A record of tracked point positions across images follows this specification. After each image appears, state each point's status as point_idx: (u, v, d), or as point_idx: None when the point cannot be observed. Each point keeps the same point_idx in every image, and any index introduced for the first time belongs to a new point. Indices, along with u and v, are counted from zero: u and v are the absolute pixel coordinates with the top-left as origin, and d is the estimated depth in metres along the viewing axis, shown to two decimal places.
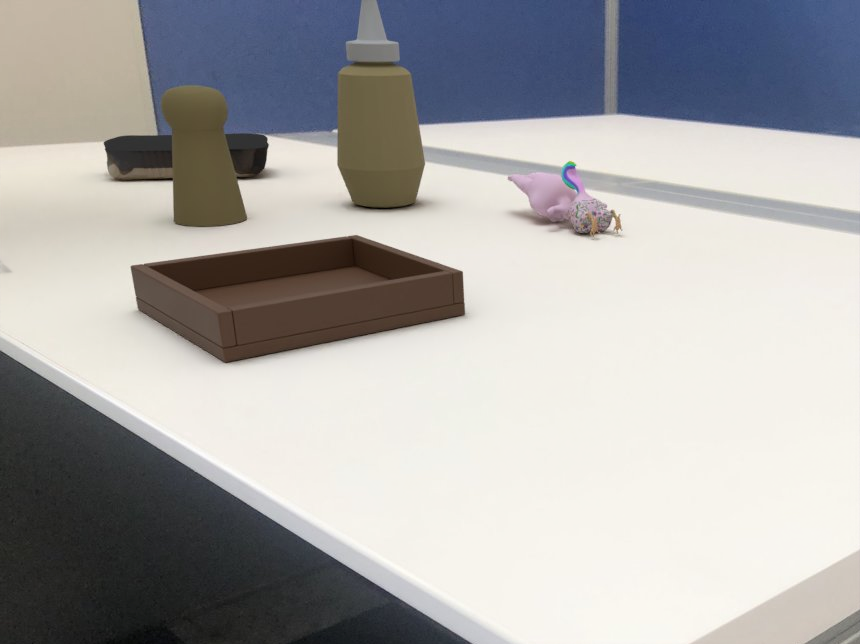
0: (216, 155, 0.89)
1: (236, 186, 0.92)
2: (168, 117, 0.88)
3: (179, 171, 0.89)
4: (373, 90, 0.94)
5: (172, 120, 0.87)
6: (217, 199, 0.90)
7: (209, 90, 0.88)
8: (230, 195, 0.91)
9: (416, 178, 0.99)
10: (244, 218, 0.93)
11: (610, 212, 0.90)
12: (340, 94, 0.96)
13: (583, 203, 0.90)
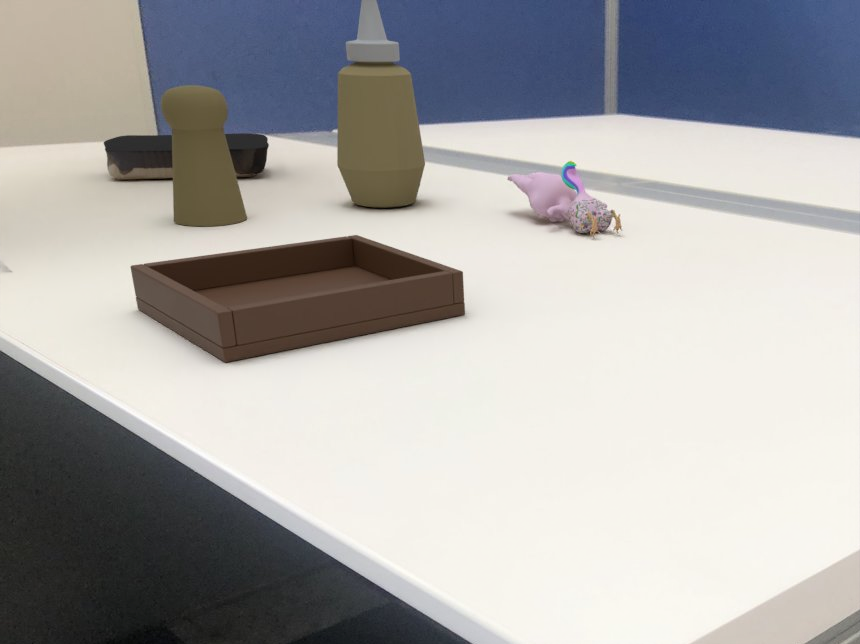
0: (216, 155, 0.89)
1: (236, 186, 0.92)
2: (168, 117, 0.88)
3: (179, 171, 0.89)
4: (373, 90, 0.94)
5: (172, 120, 0.87)
6: (217, 199, 0.90)
7: (209, 90, 0.88)
8: (230, 195, 0.91)
9: (416, 178, 0.99)
10: (244, 218, 0.93)
11: (610, 212, 0.90)
12: (340, 94, 0.96)
13: (583, 203, 0.90)
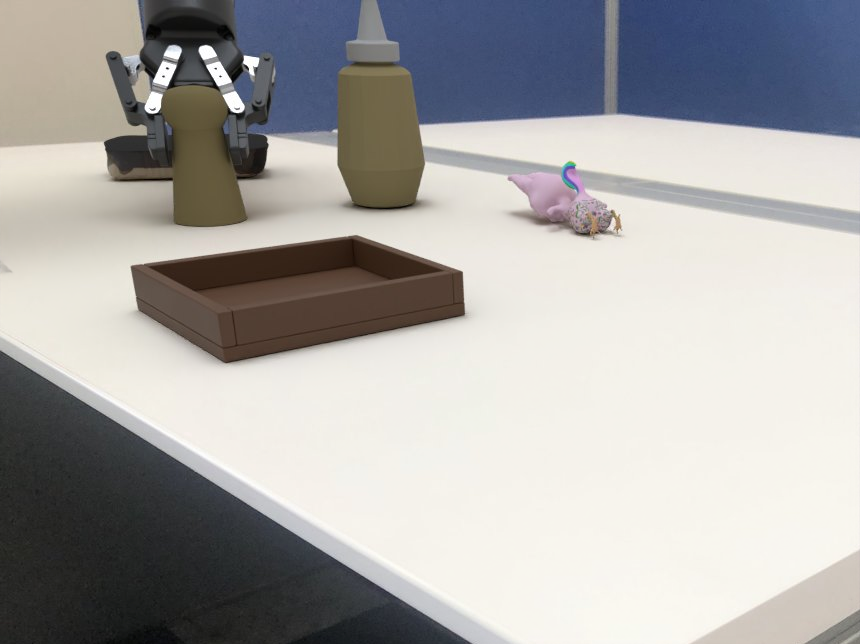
0: (216, 155, 0.89)
1: (236, 186, 0.92)
2: (168, 117, 0.88)
3: (179, 171, 0.89)
4: (373, 90, 0.94)
5: (172, 120, 0.87)
6: (217, 199, 0.90)
7: (209, 90, 0.88)
8: (230, 195, 0.91)
9: (416, 178, 0.99)
10: (244, 218, 0.93)
11: (610, 212, 0.90)
12: (340, 94, 0.96)
13: (583, 203, 0.90)
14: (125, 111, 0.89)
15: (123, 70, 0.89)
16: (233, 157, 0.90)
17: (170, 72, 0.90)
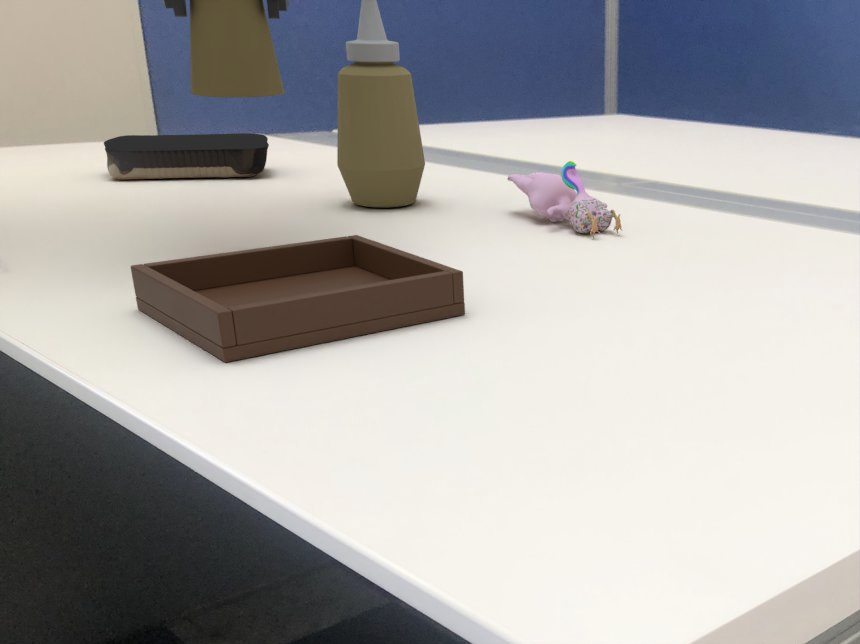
0: (248, 3, 0.69)
1: (272, 48, 0.71)
2: None
3: (199, 24, 0.69)
4: (373, 90, 0.94)
5: None
6: (248, 62, 0.70)
7: None
8: (265, 58, 0.70)
9: (416, 178, 0.99)
10: (281, 92, 0.72)
11: (610, 212, 0.90)
12: (340, 94, 0.96)
13: (583, 203, 0.90)
14: None
15: None
16: (269, 7, 0.69)
17: None
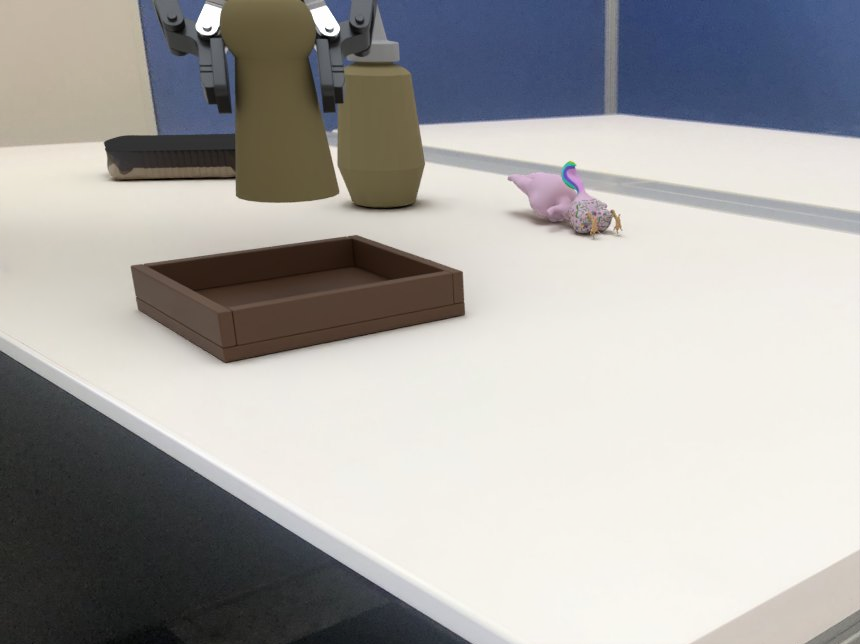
0: (301, 98, 0.61)
1: (326, 145, 0.63)
2: (231, 40, 0.59)
3: (247, 121, 0.61)
4: (373, 90, 0.94)
5: (237, 44, 0.59)
6: (300, 163, 0.61)
7: (291, 0, 0.59)
8: (319, 157, 0.62)
9: (416, 178, 0.99)
10: (337, 192, 0.64)
11: (610, 212, 0.90)
12: None
13: (583, 203, 0.90)
14: (167, 32, 0.60)
15: None
16: (325, 101, 0.61)
17: None
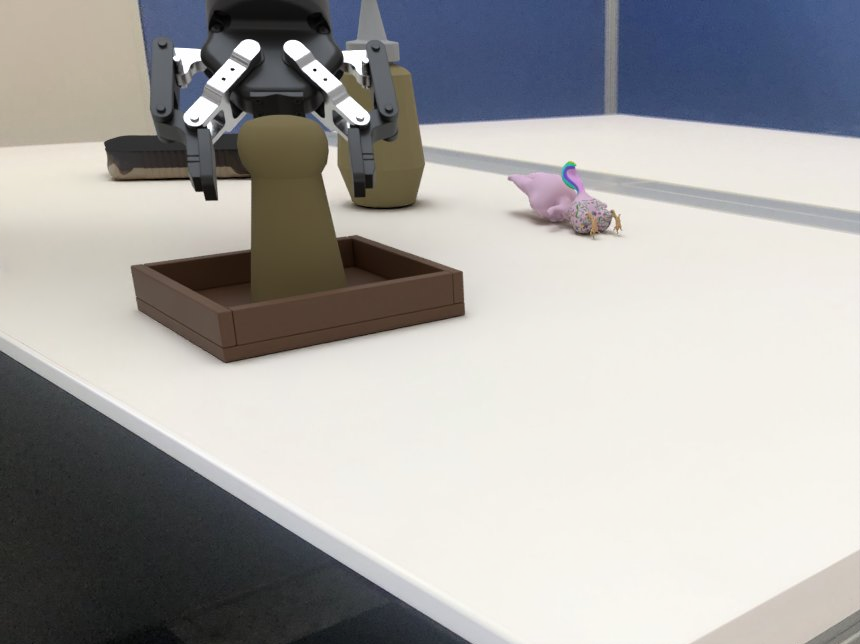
0: (314, 213, 0.64)
1: (338, 254, 0.66)
2: (248, 161, 0.62)
3: (262, 236, 0.63)
4: None
5: (254, 165, 0.62)
6: (313, 274, 0.64)
7: (306, 122, 0.62)
8: (331, 267, 0.65)
9: (416, 178, 0.99)
10: None
11: (610, 212, 0.90)
12: None
13: (583, 203, 0.90)
14: (154, 121, 0.62)
15: (169, 65, 0.63)
16: (356, 187, 0.64)
17: (234, 75, 0.63)
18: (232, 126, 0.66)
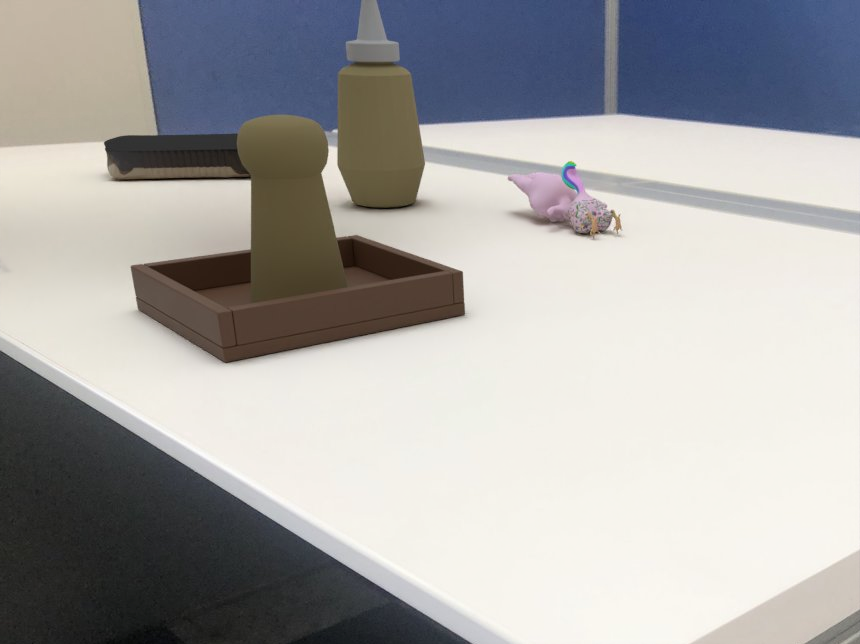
0: (314, 213, 0.63)
1: (338, 254, 0.66)
2: (248, 161, 0.62)
3: (262, 236, 0.63)
4: (373, 90, 0.94)
5: (253, 165, 0.62)
6: (313, 273, 0.64)
7: (305, 122, 0.62)
8: (331, 267, 0.65)
9: (416, 178, 0.99)
10: None
11: (610, 212, 0.90)
12: (340, 94, 0.96)
13: (583, 203, 0.90)
14: None
15: None
16: None
17: None
18: None
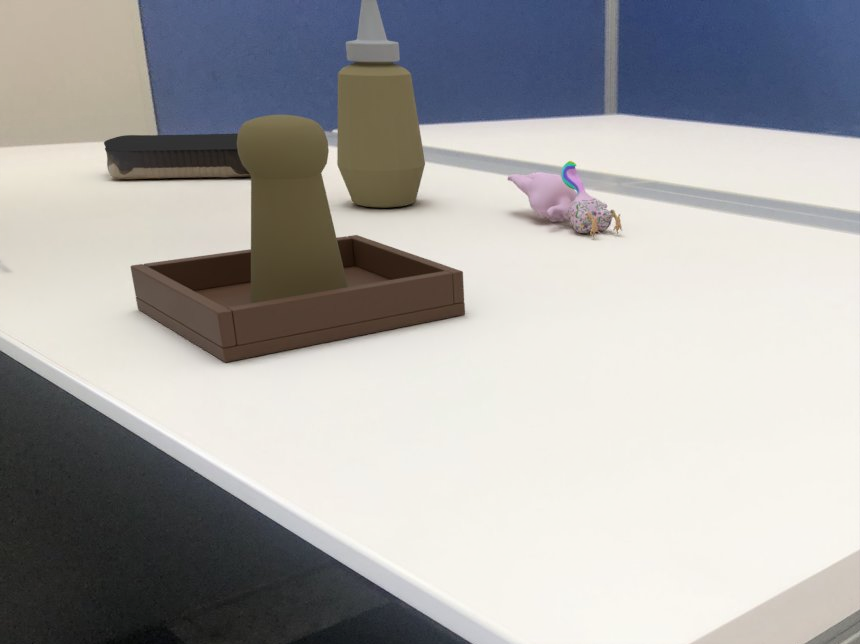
0: (314, 213, 0.63)
1: (338, 254, 0.66)
2: (248, 161, 0.62)
3: (262, 236, 0.63)
4: (373, 90, 0.94)
5: (253, 165, 0.62)
6: (313, 273, 0.64)
7: (305, 122, 0.62)
8: (331, 267, 0.65)
9: (416, 178, 0.99)
10: None
11: (610, 212, 0.90)
12: (340, 94, 0.96)
13: (583, 203, 0.90)
14: None
15: None
16: None
17: None
18: None
